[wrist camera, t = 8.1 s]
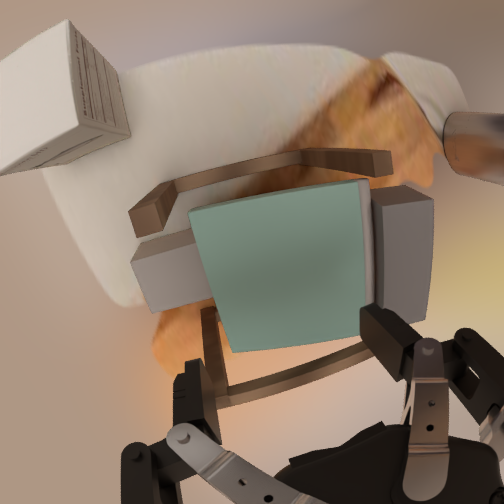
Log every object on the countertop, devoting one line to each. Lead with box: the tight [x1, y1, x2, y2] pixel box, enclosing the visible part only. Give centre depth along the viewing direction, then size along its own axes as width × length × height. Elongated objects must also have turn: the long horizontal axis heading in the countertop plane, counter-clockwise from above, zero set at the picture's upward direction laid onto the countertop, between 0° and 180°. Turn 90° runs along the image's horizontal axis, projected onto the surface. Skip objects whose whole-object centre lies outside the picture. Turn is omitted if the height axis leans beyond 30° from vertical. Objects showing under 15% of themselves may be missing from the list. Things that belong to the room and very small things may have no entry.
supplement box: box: [0, 19, 131, 176], centre depth 14 cm, size 7×7×13 cm
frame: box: [128, 148, 393, 410], centre depth 22 cm, size 14×15×12 cm
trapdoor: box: [188, 178, 434, 353], centre depth 19 cm, size 15×12×4 cm
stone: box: [130, 228, 213, 313], centre depth 24 cm, size 5×5×6 cm
